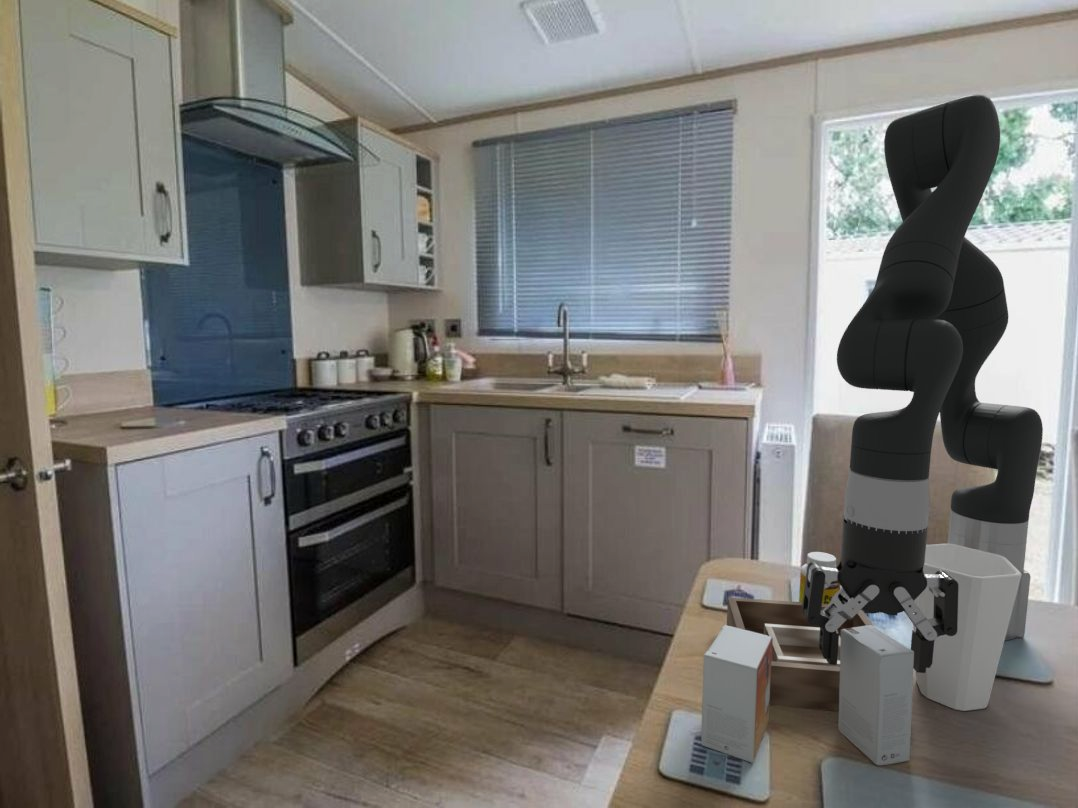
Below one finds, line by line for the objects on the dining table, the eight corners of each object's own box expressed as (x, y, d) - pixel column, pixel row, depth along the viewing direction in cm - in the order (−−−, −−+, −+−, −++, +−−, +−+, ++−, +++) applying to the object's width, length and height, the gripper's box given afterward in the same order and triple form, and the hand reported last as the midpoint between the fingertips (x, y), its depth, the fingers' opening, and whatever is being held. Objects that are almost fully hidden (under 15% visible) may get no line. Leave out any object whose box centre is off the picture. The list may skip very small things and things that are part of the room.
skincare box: (911, 761, 64) (920, 651, 62) (874, 768, 63) (882, 656, 61) (867, 724, 70) (875, 622, 68) (833, 729, 69) (839, 627, 67)
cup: (1018, 730, 68) (1033, 584, 66) (913, 711, 72) (924, 571, 70) (985, 676, 79) (997, 548, 76) (894, 662, 82) (903, 539, 80)
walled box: (857, 639, 88) (859, 606, 88) (909, 718, 71) (913, 677, 70) (726, 629, 91) (727, 597, 91) (746, 702, 74) (747, 663, 73)
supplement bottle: (824, 633, 90) (828, 566, 89) (790, 618, 94) (793, 554, 93) (845, 623, 93) (849, 558, 92) (811, 608, 98) (815, 546, 96)
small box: (753, 765, 63) (757, 669, 62) (699, 746, 66) (702, 654, 65) (770, 722, 70) (774, 635, 69) (720, 706, 73) (723, 622, 72)
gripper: (944, 509, 65) (930, 653, 67) (802, 502, 68) (793, 641, 70) (981, 532, 58) (965, 693, 60) (820, 523, 61) (810, 677, 63)
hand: (873, 664), depth 65 cm, fingers open, 8 cm apart
